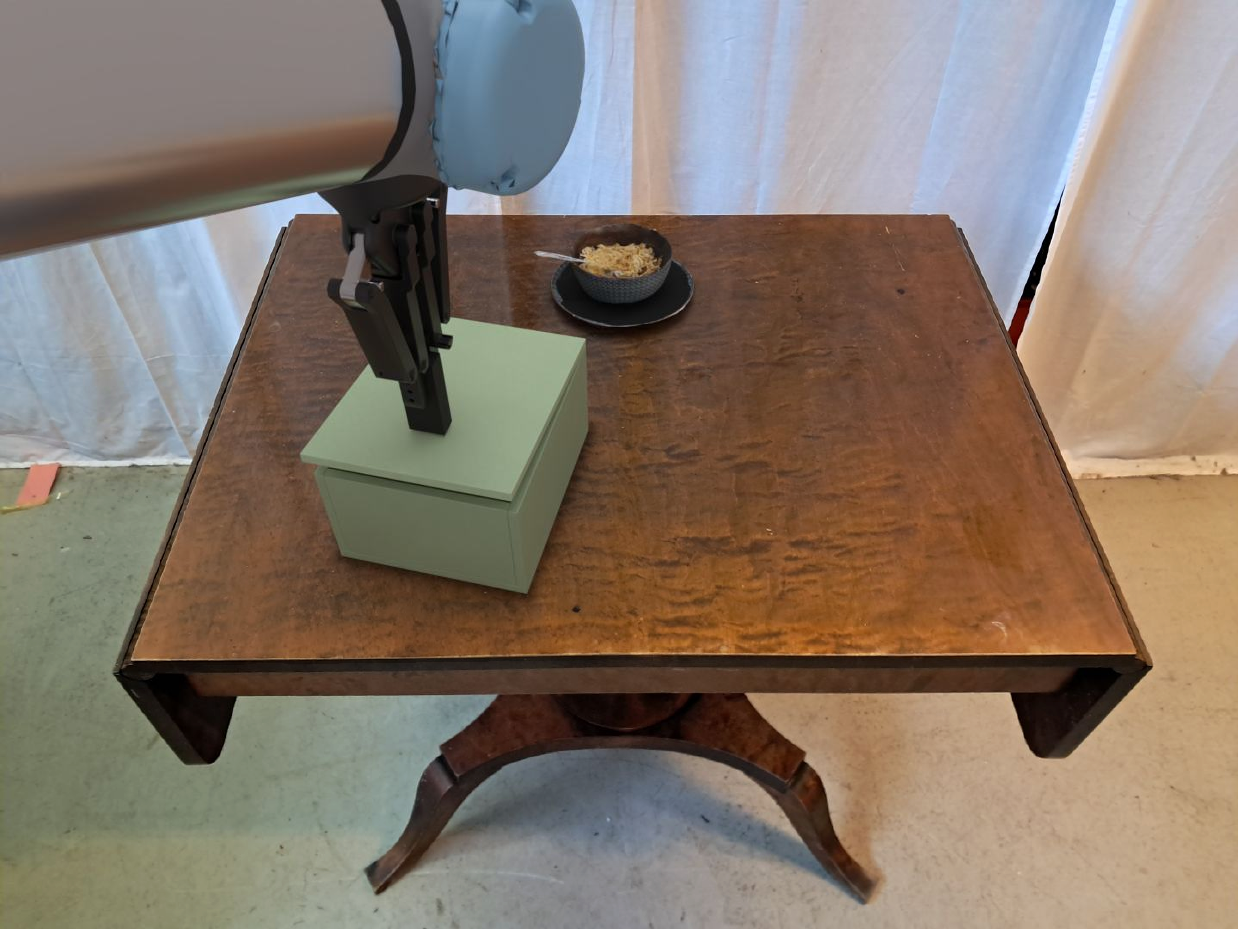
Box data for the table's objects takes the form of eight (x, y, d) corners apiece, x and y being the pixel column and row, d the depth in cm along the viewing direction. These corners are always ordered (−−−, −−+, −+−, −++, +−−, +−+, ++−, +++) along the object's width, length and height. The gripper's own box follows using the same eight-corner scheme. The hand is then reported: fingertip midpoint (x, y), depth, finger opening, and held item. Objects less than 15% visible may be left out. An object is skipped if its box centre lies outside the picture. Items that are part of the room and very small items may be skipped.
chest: (527, 594, 73) (517, 513, 66) (341, 556, 76) (312, 473, 69) (588, 429, 86) (586, 346, 78) (427, 401, 88) (410, 318, 81)
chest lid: (511, 502, 64) (511, 493, 64) (301, 462, 67) (299, 453, 66) (586, 346, 78) (586, 338, 78) (410, 318, 81) (409, 310, 80)
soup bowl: (693, 341, 94) (698, 280, 89) (534, 337, 95) (529, 275, 89) (692, 254, 104) (696, 195, 99) (547, 250, 105) (544, 191, 99)
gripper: (384, 186, 46) (447, 500, 63) (474, 70, 55) (508, 374, 72) (244, 167, 47) (344, 481, 65) (354, 56, 56) (416, 359, 73)
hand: (430, 424), depth 68 cm, fingers closed
